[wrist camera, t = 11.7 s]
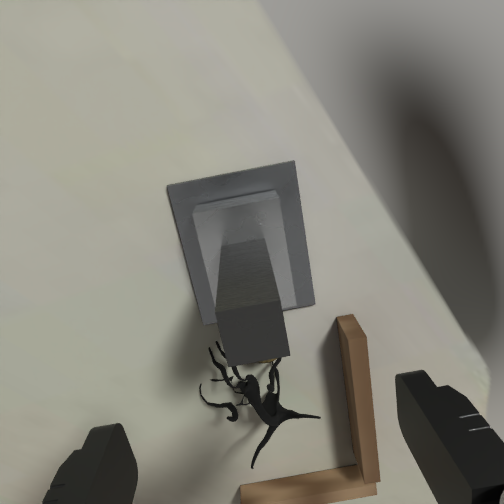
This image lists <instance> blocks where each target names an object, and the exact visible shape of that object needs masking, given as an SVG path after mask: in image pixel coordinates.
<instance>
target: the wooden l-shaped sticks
mask: <svg viewBox="0 0 504 504" xmlns="http://www.w3.org/2000/svg"><path fill="white" fill-rule="evenodd" d="M337 325H338V333H339V341H340V349H341V357H342V365H343V373H344V381H345V389H346V397H347V405H348V413H349V421H350V429H351V437H352V445H353V452H354V455H355V458H356V461H357V464H358V465H352V466H347V467H341V468H335V469H330V470H324V471H319V472H313V473H307V474H302V475H296V476H291V477H285V478H279V479H274V480H268V481H263V482H257V483H251V484H246V485H240V491H241V504H328V503H333V502H339V501H345V500H350V499H356V498H362V497H367V496H373V495H377V488H376V482H380V471H379V461H378V451H377V440H376V430H375V419H374V409H373V399H372V388H371V378H370V368H369V357H368V347H367V337H366V335H365V333H364V332H363V330H362V328H361V327H360V325H359V323H358V322H357V320H356V318H355V317H354V315H353V314H350V315H345V316H339V317H337Z"/></svg>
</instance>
